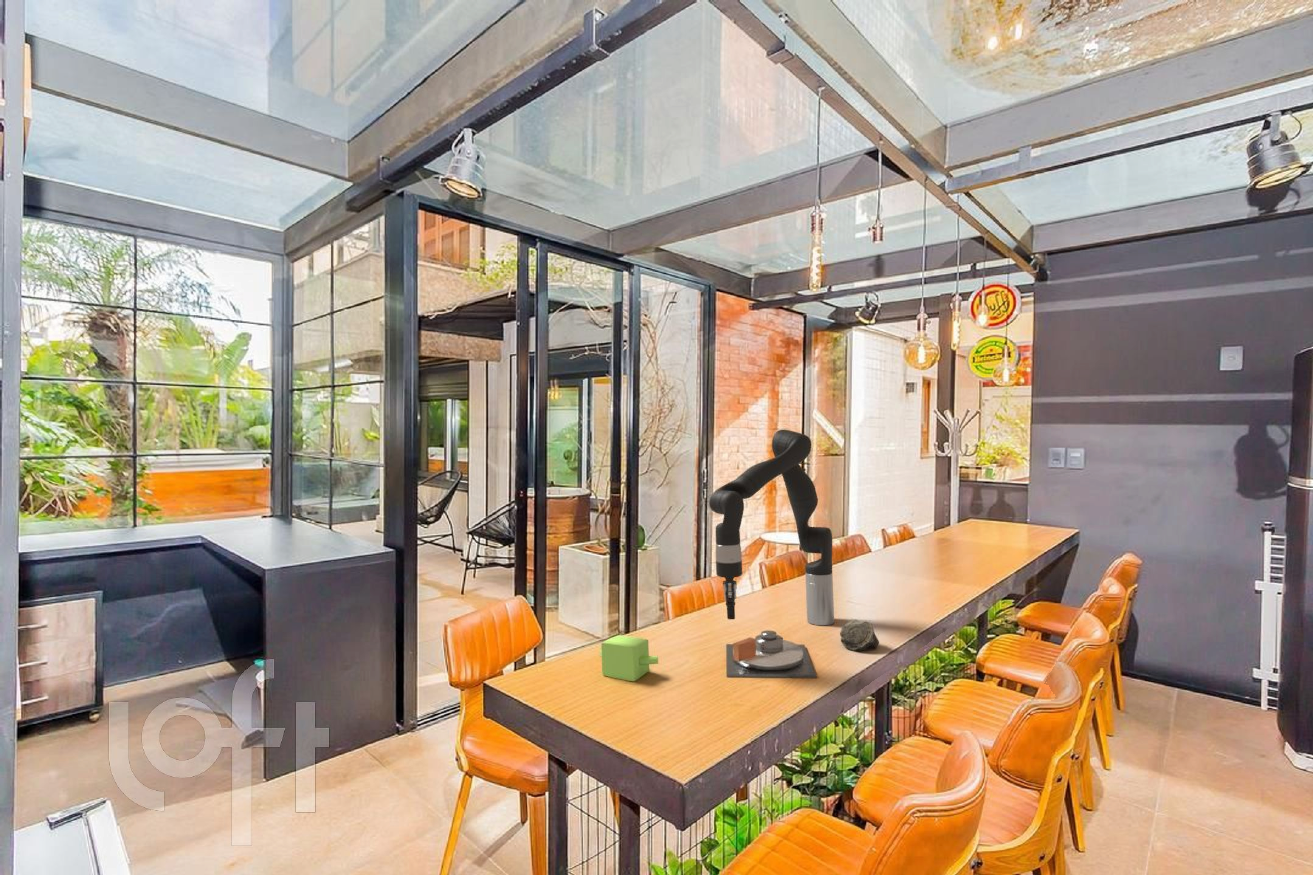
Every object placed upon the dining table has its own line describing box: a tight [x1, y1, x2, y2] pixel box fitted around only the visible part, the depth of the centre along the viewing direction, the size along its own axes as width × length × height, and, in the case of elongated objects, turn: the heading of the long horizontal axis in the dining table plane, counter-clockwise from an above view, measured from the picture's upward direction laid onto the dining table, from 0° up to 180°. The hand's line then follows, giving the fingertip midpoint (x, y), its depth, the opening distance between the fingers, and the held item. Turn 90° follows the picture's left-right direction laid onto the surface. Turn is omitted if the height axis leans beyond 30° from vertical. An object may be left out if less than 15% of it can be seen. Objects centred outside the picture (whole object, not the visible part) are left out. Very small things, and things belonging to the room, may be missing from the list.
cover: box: [754, 629, 784, 653], centre depth 172 cm, size 8×8×5 cm
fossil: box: [839, 618, 880, 652], centre depth 181 cm, size 11×9×10 cm
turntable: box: [732, 637, 803, 670], centre depth 170 cm, size 20×23×7 cm
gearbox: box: [599, 634, 659, 682], centre depth 166 cm, size 18×10×10 cm, turn 59°
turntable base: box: [725, 643, 817, 679], centre depth 171 cm, size 24×24×1 cm
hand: (731, 618), depth 171 cm, fingers closed
